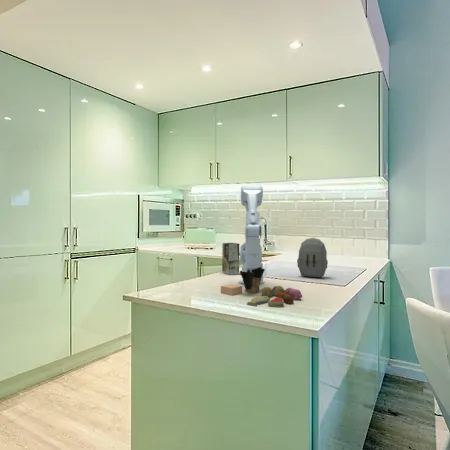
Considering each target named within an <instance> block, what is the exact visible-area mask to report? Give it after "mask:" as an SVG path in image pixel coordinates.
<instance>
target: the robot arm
mask: <svg viewBox="0 0 450 450" xmlns="http://www.w3.org/2000/svg"><path fill="white" fill-rule="evenodd" d="M263 188H264V187H263V186H262V185H260V186H259V185H258V186H257V185H256V186H254V185H251V186H250V185H249V186H248V185H242V186H241V187H240V203H241V206H243V207H245V211H246V214H245V225H244V236H245V237H244V239H245V242H244V243H242V244H241V245H240V247H239V263H241V264H242V266H241V270H239V275H240V276H241V278H242V280H241V281H238V284H243V286H244V290H245V289H249V290H250V289H251V284H252V278H253V277H255V278H260V279H259V286H260V285H261V284H264V283H265V282H266V281H264V272H265V270H266V269H265V268H264V266H263V263H262V261H263V251H262V249H263V248H262V246H261V238H262V232H263V231H262V228H263V227H262V224H261V221H260V219H261V218H260V215H261V214H260V212H259V211H258V210H257V209H258V207H260V206H262V203H263V197H264V191H263V190H264V189H263Z"/></svg>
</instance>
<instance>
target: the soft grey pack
mask: <svg viewBox="0 0 450 450" xmlns="http://www.w3.org/2000/svg"><path fill="white" fill-rule="evenodd" d="M327 254H328V253H327V249H326V246H325V243H324V242H323V241H321V240H320V239H319V238H316V237H311V238H306V239H305V240H303V241H302V242H301V244H300V247H299V250H298V256H297V257H298V258H297V261H296V263H297V268H298V269H299V270H298V271H299V273H300V275H301V276H304V277H307V278H323V277H324V276H325V274H326V270H327V269H328V264H329V263H328V261H329V260H328V258H327V256H328V255H327Z"/></svg>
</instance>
